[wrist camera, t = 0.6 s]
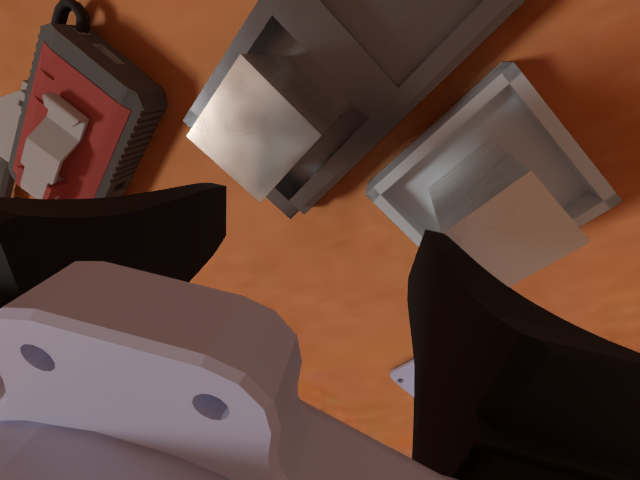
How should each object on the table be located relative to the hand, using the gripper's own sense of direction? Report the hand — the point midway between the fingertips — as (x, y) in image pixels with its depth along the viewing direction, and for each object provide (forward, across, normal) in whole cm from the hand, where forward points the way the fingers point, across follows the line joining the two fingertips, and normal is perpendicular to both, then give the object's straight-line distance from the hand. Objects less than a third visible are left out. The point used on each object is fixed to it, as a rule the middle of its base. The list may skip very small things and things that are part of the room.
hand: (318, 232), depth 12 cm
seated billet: (+8, +4, -2) cm, 9 cm away
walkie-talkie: (+10, +20, +4) cm, 22 cm away
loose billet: (+9, -8, 0) cm, 12 cm away
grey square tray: (+10, -8, 0) cm, 12 cm away
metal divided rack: (+10, +1, -6) cm, 11 cm away
